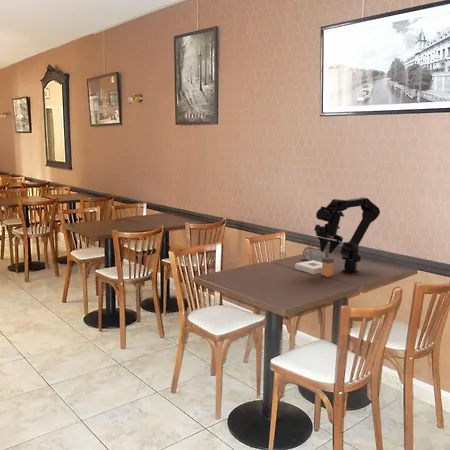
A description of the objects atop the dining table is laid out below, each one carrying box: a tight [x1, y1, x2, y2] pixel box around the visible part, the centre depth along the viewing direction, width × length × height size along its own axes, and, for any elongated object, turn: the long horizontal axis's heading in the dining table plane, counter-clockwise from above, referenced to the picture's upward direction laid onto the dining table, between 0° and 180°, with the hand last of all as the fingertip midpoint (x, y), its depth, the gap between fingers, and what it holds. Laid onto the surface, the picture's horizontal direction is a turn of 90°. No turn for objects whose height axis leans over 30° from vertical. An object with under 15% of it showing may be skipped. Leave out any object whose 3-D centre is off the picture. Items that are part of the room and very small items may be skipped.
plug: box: [321, 256, 335, 278], centre depth 250 cm, size 4×4×9 cm
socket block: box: [294, 260, 322, 275], centre depth 262 cm, size 14×14×3 cm
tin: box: [302, 246, 329, 262], centre depth 280 cm, size 15×3×8 cm, turn 58°
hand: (325, 252), depth 248 cm, fingers open, 9 cm apart
